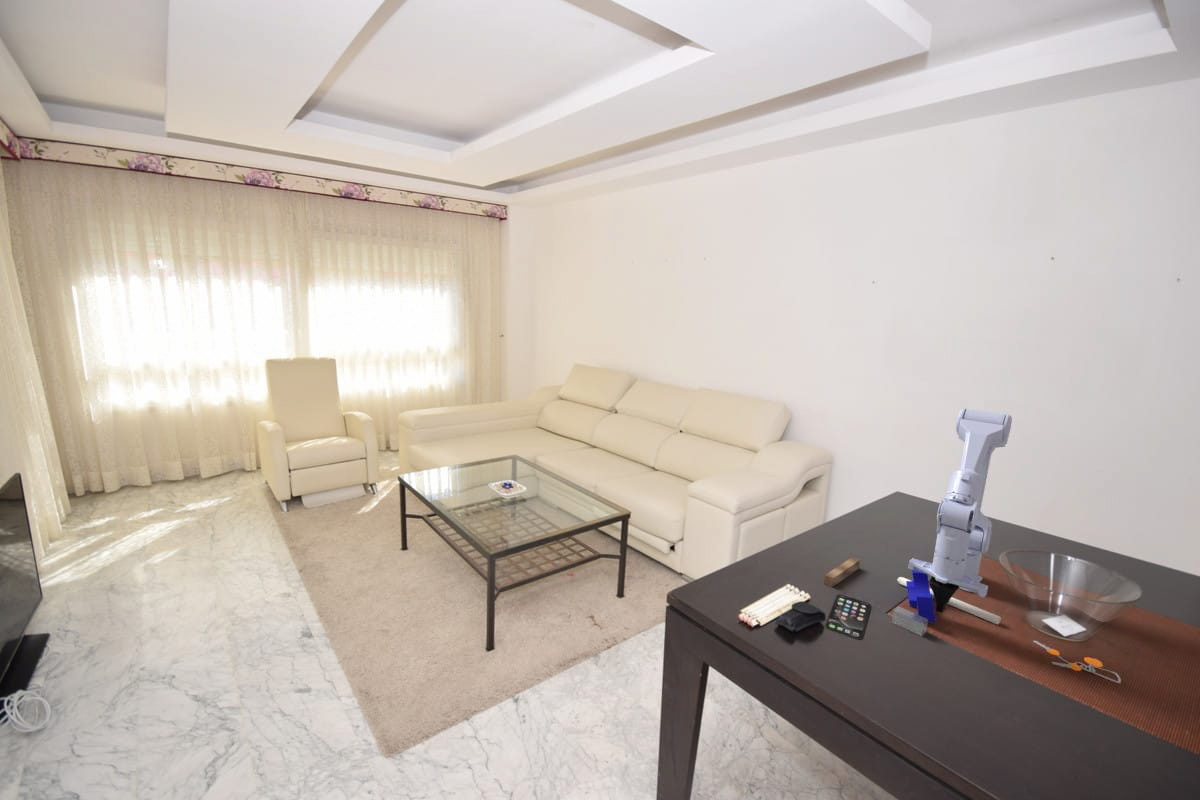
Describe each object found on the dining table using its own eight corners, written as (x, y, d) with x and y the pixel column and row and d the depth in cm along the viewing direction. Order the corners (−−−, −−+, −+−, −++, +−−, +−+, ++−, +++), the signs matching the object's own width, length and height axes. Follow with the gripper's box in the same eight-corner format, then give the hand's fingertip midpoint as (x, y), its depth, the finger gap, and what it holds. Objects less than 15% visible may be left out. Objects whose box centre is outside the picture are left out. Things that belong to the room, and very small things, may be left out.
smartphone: (824, 627, 112) (837, 593, 125) (823, 629, 113) (836, 595, 125) (862, 640, 108) (871, 603, 121) (861, 642, 109) (871, 606, 121)
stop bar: (851, 565, 138) (852, 557, 137) (858, 568, 136) (859, 560, 136) (824, 583, 129) (825, 575, 128) (831, 587, 127) (832, 578, 127)
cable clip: (907, 592, 126) (904, 569, 125) (929, 593, 123) (926, 570, 123) (911, 621, 115) (908, 596, 114) (935, 623, 113) (932, 597, 112)
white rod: (898, 581, 130) (899, 574, 130) (1000, 622, 115) (1001, 615, 114) (895, 583, 129) (896, 577, 129) (997, 626, 114) (998, 618, 113)
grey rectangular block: (896, 618, 116) (898, 606, 115) (926, 631, 111) (928, 619, 111) (891, 622, 114) (893, 610, 114) (921, 636, 110) (923, 623, 109)
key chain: (1116, 666, 102) (1117, 663, 102) (1122, 689, 96) (1123, 685, 96) (1032, 640, 110) (1033, 636, 109) (1034, 659, 104) (1034, 655, 104)
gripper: (906, 547, 115) (898, 601, 118) (984, 574, 104) (973, 634, 107) (919, 537, 120) (910, 590, 123) (995, 563, 109) (983, 621, 112)
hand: (940, 610), depth 115 cm, fingers closed
